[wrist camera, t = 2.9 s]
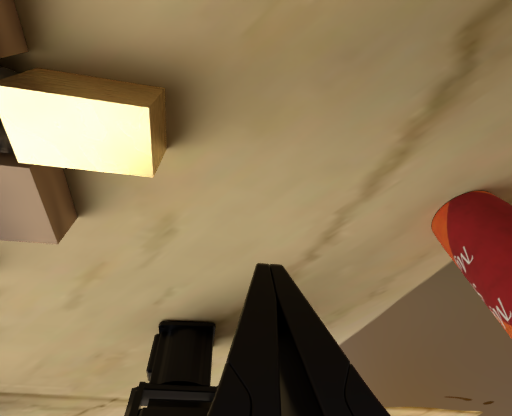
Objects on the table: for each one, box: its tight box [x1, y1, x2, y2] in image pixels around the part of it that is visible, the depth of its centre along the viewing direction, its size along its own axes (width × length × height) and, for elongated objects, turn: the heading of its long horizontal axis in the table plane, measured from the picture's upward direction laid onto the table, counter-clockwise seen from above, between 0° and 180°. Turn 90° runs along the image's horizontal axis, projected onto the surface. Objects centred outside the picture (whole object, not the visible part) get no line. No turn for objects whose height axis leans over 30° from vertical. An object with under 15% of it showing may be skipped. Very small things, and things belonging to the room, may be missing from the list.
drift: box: [0, 68, 167, 177], centre depth 15 cm, size 7×4×4 cm, turn 80°
